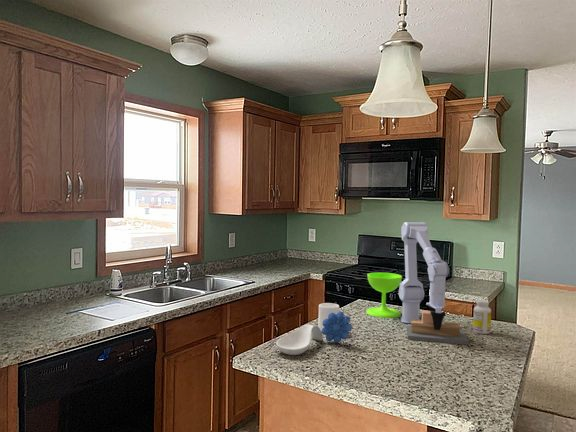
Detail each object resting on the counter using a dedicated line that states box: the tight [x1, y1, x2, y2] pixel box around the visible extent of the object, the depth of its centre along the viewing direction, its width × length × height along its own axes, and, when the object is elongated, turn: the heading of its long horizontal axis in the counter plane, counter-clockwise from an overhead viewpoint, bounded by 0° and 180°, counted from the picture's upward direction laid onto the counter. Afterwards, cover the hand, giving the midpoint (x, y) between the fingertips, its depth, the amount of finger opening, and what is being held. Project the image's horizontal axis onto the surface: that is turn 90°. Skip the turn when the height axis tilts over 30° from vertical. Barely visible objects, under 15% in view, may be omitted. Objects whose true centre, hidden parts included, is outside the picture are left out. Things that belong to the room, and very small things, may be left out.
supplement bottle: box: [472, 299, 492, 335], centre depth 187 cm, size 7×7×13 cm
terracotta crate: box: [421, 310, 433, 324], centre depth 180 cm, size 4×4×4 cm
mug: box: [317, 302, 340, 332], centre depth 187 cm, size 12×8×10 cm
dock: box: [406, 325, 469, 346], centre depth 180 cm, size 14×22×2 cm, turn 77°
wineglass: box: [365, 272, 403, 319], centre depth 214 cm, size 16×16×18 cm
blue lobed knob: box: [322, 311, 353, 344], centre depth 170 cm, size 12×7×12 cm, turn 70°
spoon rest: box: [275, 323, 324, 356], centre depth 164 cm, size 24×12×7 cm, turn 148°
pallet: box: [410, 319, 461, 337], centre depth 180 cm, size 5×18×4 cm, turn 77°
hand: (436, 326), depth 180 cm, fingers open, 7 cm apart
